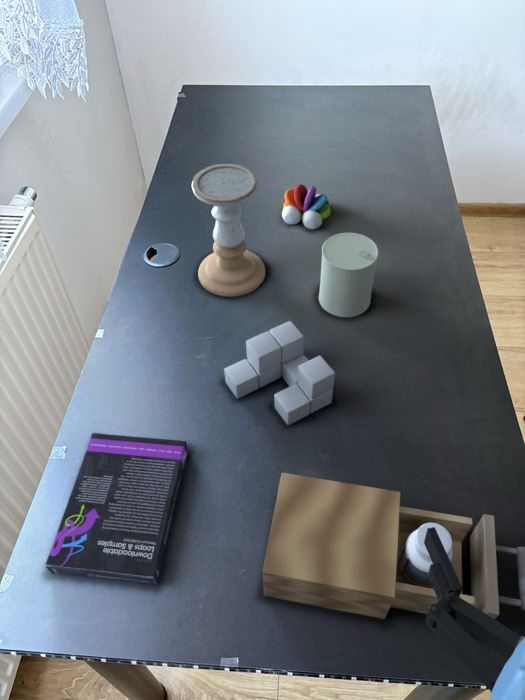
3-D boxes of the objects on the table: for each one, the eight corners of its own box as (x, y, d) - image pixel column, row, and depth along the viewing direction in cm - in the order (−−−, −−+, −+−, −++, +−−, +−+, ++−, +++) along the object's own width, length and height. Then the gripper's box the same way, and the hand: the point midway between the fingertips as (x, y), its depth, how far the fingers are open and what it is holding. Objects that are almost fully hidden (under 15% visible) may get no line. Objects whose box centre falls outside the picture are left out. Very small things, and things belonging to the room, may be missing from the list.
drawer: (518, 544, 76) (535, 522, 70) (525, 640, 68) (546, 623, 63) (373, 519, 78) (379, 496, 73) (365, 609, 71) (372, 590, 66)
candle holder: (279, 277, 109) (279, 183, 94) (225, 309, 104) (215, 215, 89) (238, 244, 115) (232, 150, 100) (185, 272, 111) (170, 178, 95)
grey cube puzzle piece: (225, 383, 94) (221, 351, 88) (289, 352, 98) (290, 319, 92) (264, 439, 87) (263, 409, 81) (331, 404, 91) (335, 372, 85)
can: (357, 326, 101) (365, 274, 92) (309, 308, 104) (311, 255, 95) (378, 293, 106) (388, 240, 97) (331, 276, 109) (336, 223, 100)
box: (98, 443, 88) (50, 575, 75) (91, 430, 85) (41, 564, 73) (190, 452, 86) (157, 589, 74) (187, 439, 84) (152, 578, 71)
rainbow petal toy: (291, 200, 124) (291, 169, 118) (335, 210, 121) (338, 180, 116) (276, 224, 119) (276, 193, 113) (322, 235, 116) (324, 205, 111)
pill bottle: (446, 589, 71) (464, 562, 64) (403, 592, 71) (416, 565, 64) (435, 545, 75) (451, 515, 68) (394, 548, 74) (405, 519, 68)
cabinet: (390, 521, 79) (400, 491, 72) (384, 620, 71) (395, 597, 64) (281, 502, 81) (281, 472, 74) (263, 597, 73) (262, 572, 66)
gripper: (458, 811, 47) (372, 564, 62) (743, 740, 49) (592, 519, 65) (477, 787, 42) (378, 525, 57) (793, 709, 44) (616, 478, 60)
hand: (491, 522), depth 61 cm, fingers open, 13 cm apart
